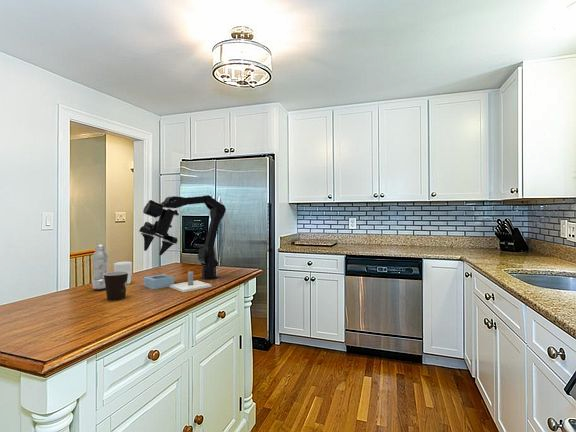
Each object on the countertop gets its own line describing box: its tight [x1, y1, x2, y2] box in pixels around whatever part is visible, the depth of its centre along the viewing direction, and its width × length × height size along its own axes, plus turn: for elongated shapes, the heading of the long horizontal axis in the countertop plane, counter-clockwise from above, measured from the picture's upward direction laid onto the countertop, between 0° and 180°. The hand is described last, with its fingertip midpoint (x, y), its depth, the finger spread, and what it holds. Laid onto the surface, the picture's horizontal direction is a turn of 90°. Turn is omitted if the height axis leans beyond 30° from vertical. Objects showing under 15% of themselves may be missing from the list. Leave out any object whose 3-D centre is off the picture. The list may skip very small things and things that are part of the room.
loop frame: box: [143, 273, 175, 290], centre depth 148 cm, size 10×10×4 cm
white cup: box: [113, 261, 133, 285], centre depth 152 cm, size 8×8×10 cm
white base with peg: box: [169, 270, 212, 293], centre depth 145 cm, size 14×13×7 cm
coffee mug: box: [104, 271, 128, 301], centre depth 128 cm, size 12×9×10 cm
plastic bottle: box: [91, 243, 110, 291], centre depth 141 cm, size 6×7×20 cm
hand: (152, 253), depth 145 cm, fingers open, 9 cm apart
